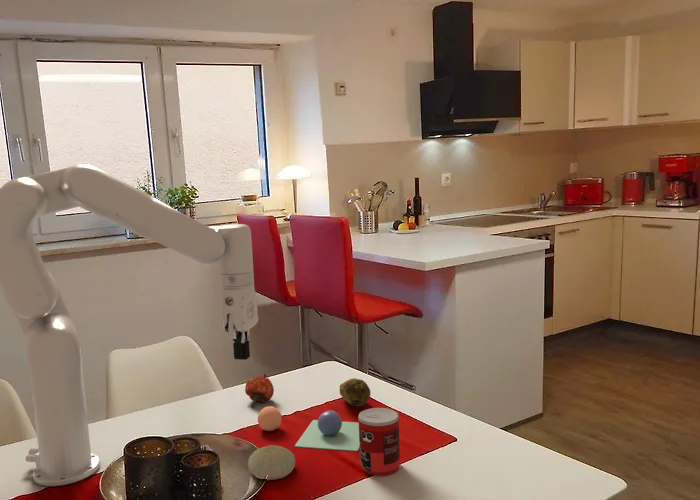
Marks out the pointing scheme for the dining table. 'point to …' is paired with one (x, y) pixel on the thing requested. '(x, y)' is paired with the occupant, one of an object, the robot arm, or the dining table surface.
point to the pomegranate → (259, 389)
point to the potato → (355, 392)
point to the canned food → (379, 441)
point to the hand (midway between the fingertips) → (242, 358)
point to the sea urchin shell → (271, 462)
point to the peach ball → (269, 418)
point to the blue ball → (329, 423)
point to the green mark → (331, 438)
